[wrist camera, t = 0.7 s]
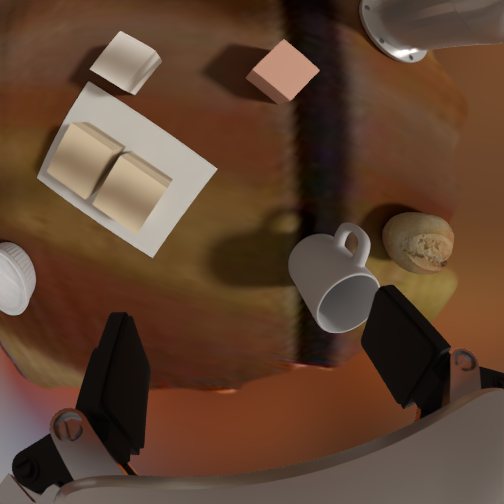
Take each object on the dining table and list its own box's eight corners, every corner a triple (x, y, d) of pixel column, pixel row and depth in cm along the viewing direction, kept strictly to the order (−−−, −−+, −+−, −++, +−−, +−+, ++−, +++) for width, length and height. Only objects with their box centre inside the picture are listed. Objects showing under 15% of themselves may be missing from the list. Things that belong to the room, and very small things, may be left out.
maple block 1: (89, 122, 25) (71, 122, 20) (126, 146, 27) (112, 150, 23) (66, 164, 26) (46, 171, 22) (100, 188, 28) (85, 199, 24)
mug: (328, 289, 41) (360, 335, 31) (278, 281, 39) (303, 332, 29) (359, 218, 37) (406, 251, 27) (309, 202, 34) (349, 234, 25)
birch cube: (131, 43, 22) (120, 30, 17) (162, 61, 24) (155, 50, 19) (105, 76, 23) (89, 69, 18) (135, 95, 25) (123, 89, 20)
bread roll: (428, 260, 43) (455, 281, 36) (369, 259, 40) (397, 285, 33) (443, 212, 39) (474, 228, 32) (384, 201, 36) (418, 219, 29)
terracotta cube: (272, 51, 25) (283, 39, 21) (303, 77, 27) (319, 70, 23) (245, 78, 26) (252, 69, 22) (277, 104, 28) (290, 100, 24)
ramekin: (34, 236, 29) (15, 252, 24) (48, 300, 34) (35, 320, 29) (-12, 234, 27) (-30, 248, 22) (3, 293, 31) (-10, 310, 27)
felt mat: (89, 81, 23) (88, 81, 22) (217, 168, 30) (217, 169, 30) (37, 177, 26) (36, 177, 26) (153, 257, 34) (152, 258, 34)
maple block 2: (132, 151, 27) (120, 155, 23) (172, 179, 30) (167, 188, 25) (107, 193, 29) (92, 204, 24) (145, 219, 31) (136, 234, 27)
